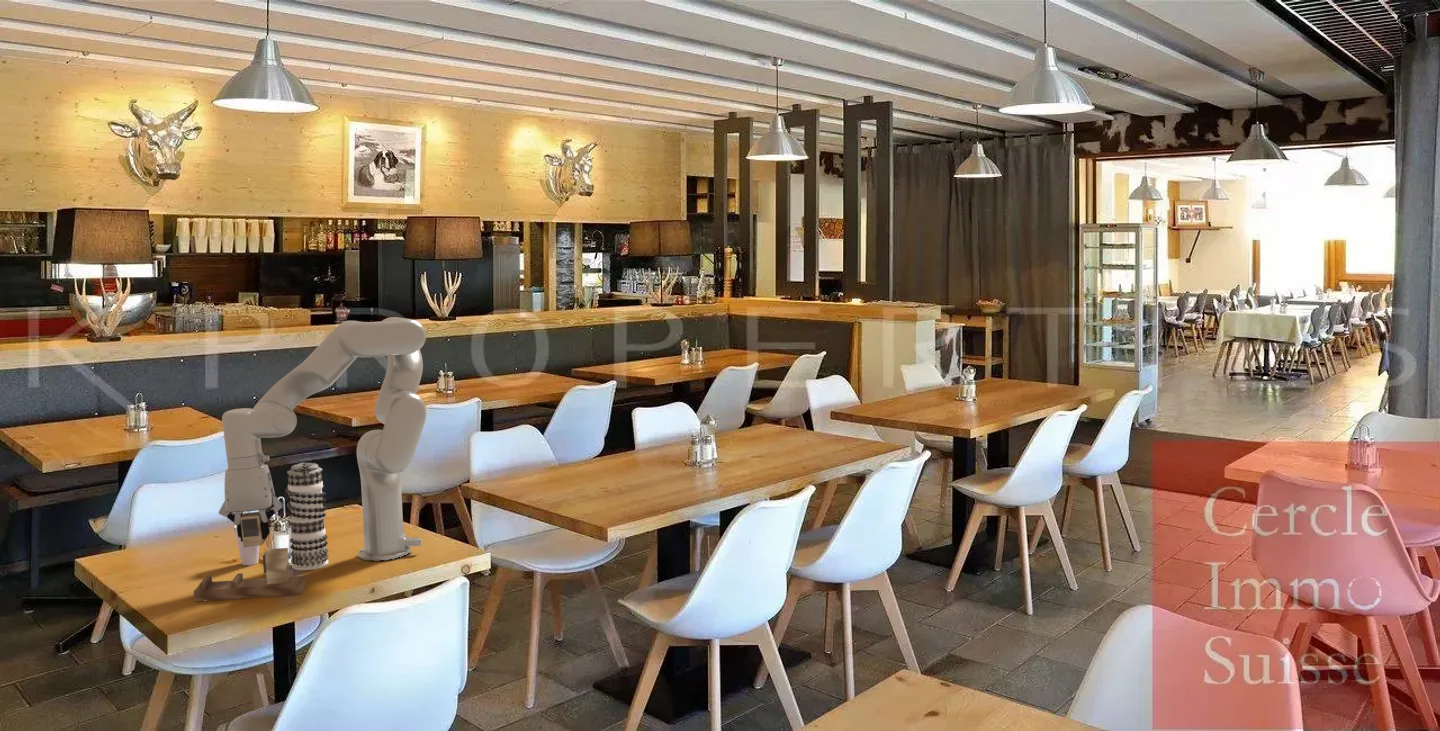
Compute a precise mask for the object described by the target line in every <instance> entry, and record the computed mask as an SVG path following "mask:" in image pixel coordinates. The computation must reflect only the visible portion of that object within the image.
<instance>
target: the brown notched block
mask: <svg viewBox="0 0 1440 731" xmlns="http://www.w3.org/2000/svg"><path fill="white" fill-rule="evenodd" d="M289 560H290V559H289V548H288V547H282V548H281V547H278V548H269V549H268V550H267V551H265V553H264V554H263V555H262V561H263V566H262V567H263V574H266V577H264V578H262V577H261V578H249V579H244V576H243V573H242V572H239V573H237V574H236V575H234V576H235V577H234V578H233V579H231V580H219V581H213V575H206V576H205V577H204V578H203V580H202V581H200V583H199V585H197V587H196V588H195V589H194V590H193V597H194V598H193V601H202V602H205V601H204V600H216V601H226V600H229V599H230V600H240V598H244V599H253V598H254V597H258V598H268V597H267V596H272V597H282V596H285V597H286V596H294V595H295V596H297V595H301V594H302V592H303V590H304V589H305V587H306V579H305V575H292V576H291V575H290V574H291V573H290V561H289Z"/></svg>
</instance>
